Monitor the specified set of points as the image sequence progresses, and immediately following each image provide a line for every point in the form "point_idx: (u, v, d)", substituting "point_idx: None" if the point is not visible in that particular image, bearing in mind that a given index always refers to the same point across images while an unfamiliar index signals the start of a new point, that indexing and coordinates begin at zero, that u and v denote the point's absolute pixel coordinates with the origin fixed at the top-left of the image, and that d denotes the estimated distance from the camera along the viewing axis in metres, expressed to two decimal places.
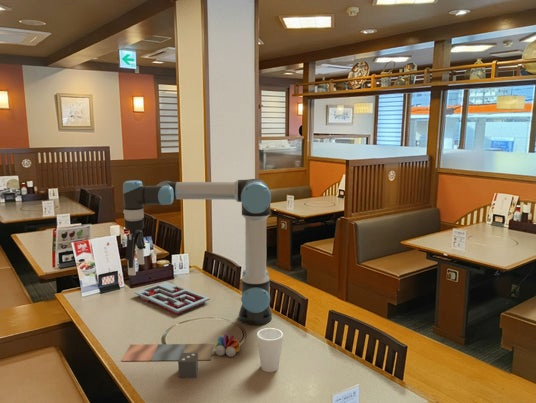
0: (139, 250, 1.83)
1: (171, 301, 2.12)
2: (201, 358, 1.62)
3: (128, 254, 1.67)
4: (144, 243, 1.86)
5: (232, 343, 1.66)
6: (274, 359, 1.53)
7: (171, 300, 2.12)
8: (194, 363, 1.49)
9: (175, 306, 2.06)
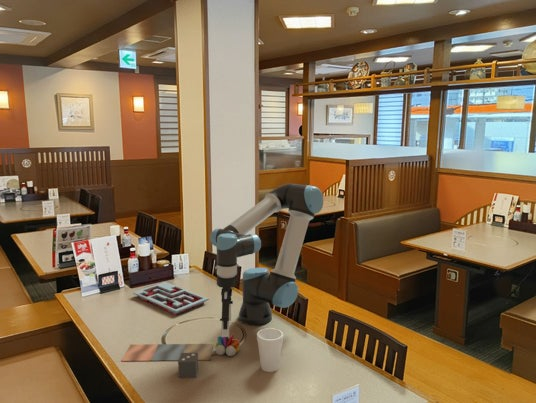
0: None
1: (170, 301, 2.11)
2: (201, 358, 1.62)
3: (224, 316, 1.54)
4: None
5: (232, 342, 1.66)
6: (274, 359, 1.53)
7: (170, 300, 2.11)
8: (194, 363, 1.49)
9: (174, 306, 2.05)
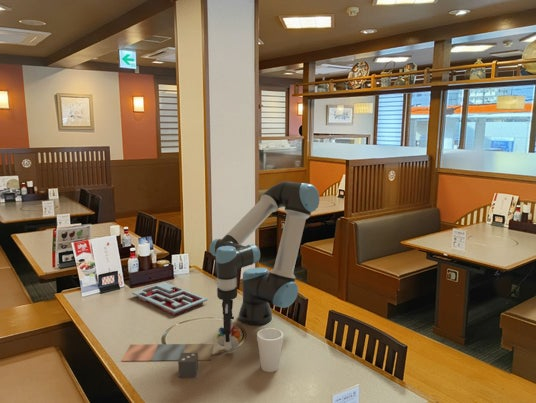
0: None
1: (169, 301, 2.11)
2: (201, 358, 1.62)
3: (226, 330, 1.58)
4: None
5: (234, 333, 1.66)
6: (274, 359, 1.53)
7: (169, 300, 2.11)
8: (194, 363, 1.49)
9: (172, 307, 2.05)
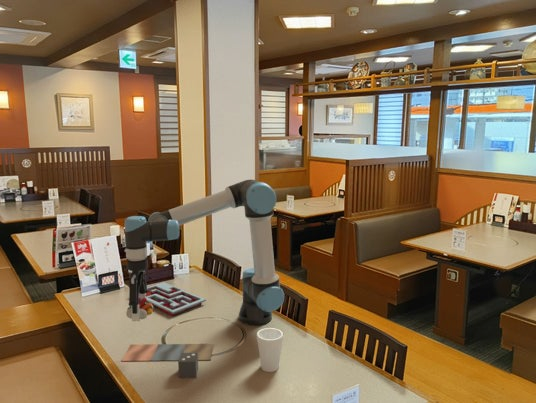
0: (141, 295, 1.67)
1: (167, 302, 2.11)
2: (201, 358, 1.62)
3: (131, 300, 1.54)
4: (146, 286, 1.70)
5: (144, 306, 1.62)
6: (274, 359, 1.53)
7: (167, 301, 2.11)
8: (194, 363, 1.49)
9: (171, 307, 2.05)
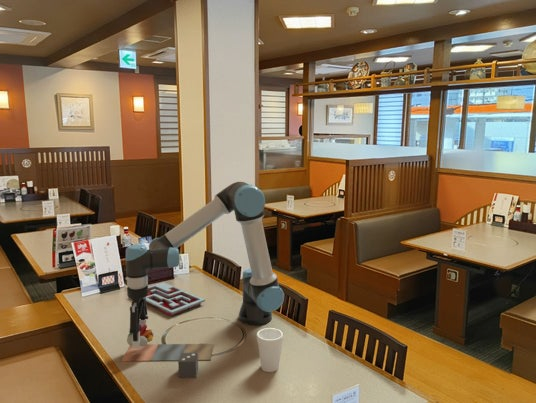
0: (141, 321, 1.69)
1: (166, 302, 2.11)
2: (201, 358, 1.62)
3: (132, 329, 1.56)
4: None
5: (144, 333, 1.64)
6: (274, 359, 1.53)
7: (166, 301, 2.10)
8: (194, 363, 1.49)
9: (170, 307, 2.04)
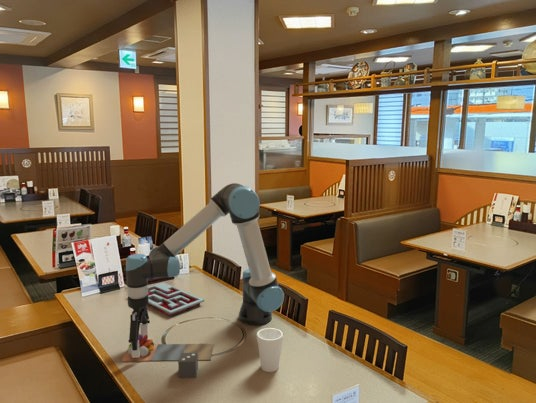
0: (143, 325, 1.71)
1: (165, 302, 2.10)
2: (201, 358, 1.62)
3: (131, 337, 1.55)
4: (148, 316, 1.74)
5: (145, 343, 1.65)
6: (274, 359, 1.53)
7: (165, 301, 2.10)
8: (194, 363, 1.49)
9: (169, 307, 2.04)
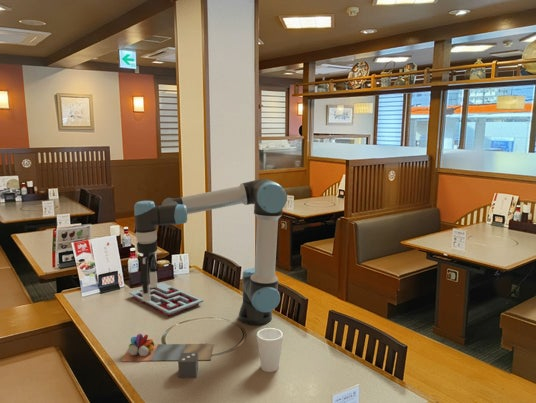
0: (152, 273, 1.74)
1: (164, 302, 2.10)
2: (201, 358, 1.62)
3: (142, 280, 1.58)
4: None
5: (146, 342, 1.65)
6: (274, 359, 1.53)
7: (164, 301, 2.10)
8: (194, 363, 1.49)
9: (168, 307, 2.04)
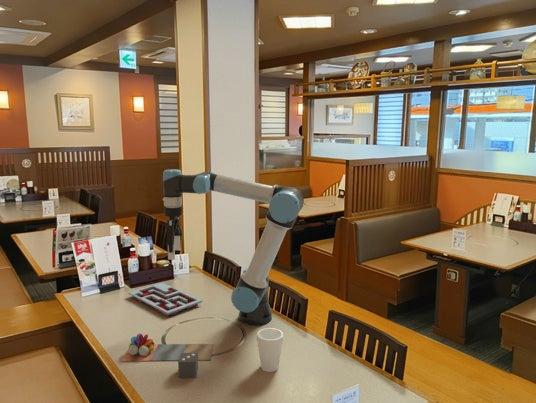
0: (176, 236, 1.91)
1: (163, 302, 2.10)
2: (201, 358, 1.62)
3: (169, 239, 1.75)
4: (180, 230, 1.94)
5: (146, 342, 1.65)
6: (274, 359, 1.53)
7: (163, 301, 2.10)
8: (194, 363, 1.49)
9: (166, 308, 2.04)
